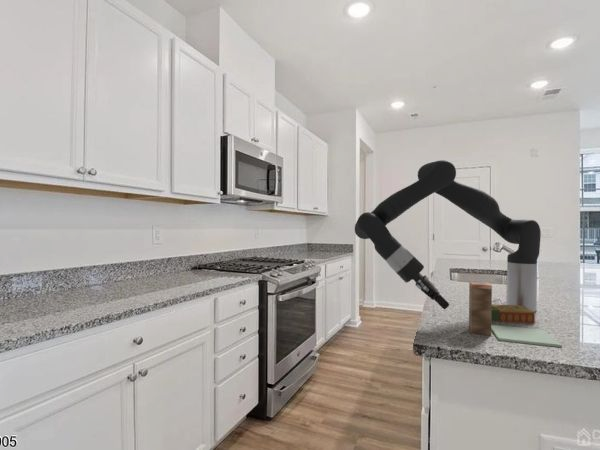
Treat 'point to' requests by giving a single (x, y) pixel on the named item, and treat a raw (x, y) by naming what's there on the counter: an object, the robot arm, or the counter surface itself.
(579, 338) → the counter surface
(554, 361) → the counter surface
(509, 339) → the mat
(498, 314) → the carton
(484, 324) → the copper block
